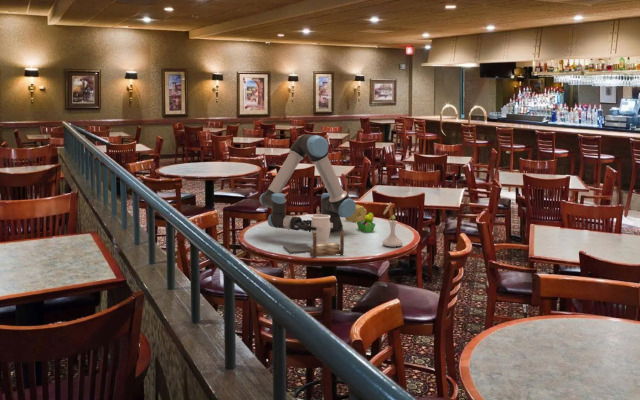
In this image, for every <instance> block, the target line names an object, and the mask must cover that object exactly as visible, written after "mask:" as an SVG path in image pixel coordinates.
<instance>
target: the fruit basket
mask: <svg viewBox="0 0 640 400" xmlns="http://www.w3.org/2000/svg"><path fill="white" fill-rule="evenodd" d="M373 221H374V213H373V212H368V213H367V214H366V216H365V221H360V222H357V223H356V225H357V228H358V229H357V230H358V231H360V230H361V231H360V232H363V231H365V232H369V233H373V232H374V229H375V227H376V223H374V222H373ZM372 231H373V232H372ZM365 232H364V233H365Z"/></svg>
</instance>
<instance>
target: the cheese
mask: <svg viewBox="0 0 640 400" xmlns="http://www.w3.org/2000/svg"><path fill="white" fill-rule="evenodd" d="M367 214H368V210H367V209H366V208H365V207H364V206H363V205H359V204H356V209H355V212H354V213H353V215H352V216H350V217H348V218H345V221H346V220H347V221H346V222H349V221H353V222H352V223H354V222H360V221H365V216H366V215H367Z"/></svg>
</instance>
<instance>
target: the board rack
mask: <svg viewBox="0 0 640 400" xmlns="http://www.w3.org/2000/svg"><path fill="white" fill-rule="evenodd" d="M339 232H340V233H339V236H340V238H339V239H340V243H338V242H330V243H326V244H316V243H317V233H316V232H314V233H313V237H312V246H311V251H310V252H309V255H310V256H311V257H312V256H313V257H312V258H313V259H316V258H317V257H316V256H319V257H327V256H326V255H331V256H337V255H336V254H340V255H339V256H341V255H343V254H345V253H344V252H345V250H344V249H345V246H344V245H345V231H344V230H342V231H339ZM343 256H344V255H343Z"/></svg>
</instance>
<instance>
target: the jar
mask: <svg viewBox="0 0 640 400" xmlns="http://www.w3.org/2000/svg"><path fill="white" fill-rule="evenodd" d="M310 218H311V220H312V221H311V226H320V227H323V232H318V231H311V235H312V238H313V233H314V232H316V233H317V243H316V244H326V243H329V242H330V241H329V238H330V233H331V232H330V228H331V225H330V215H325V214H321V213H319V214H318V213H317V214H312V215H311V216H310Z"/></svg>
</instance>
